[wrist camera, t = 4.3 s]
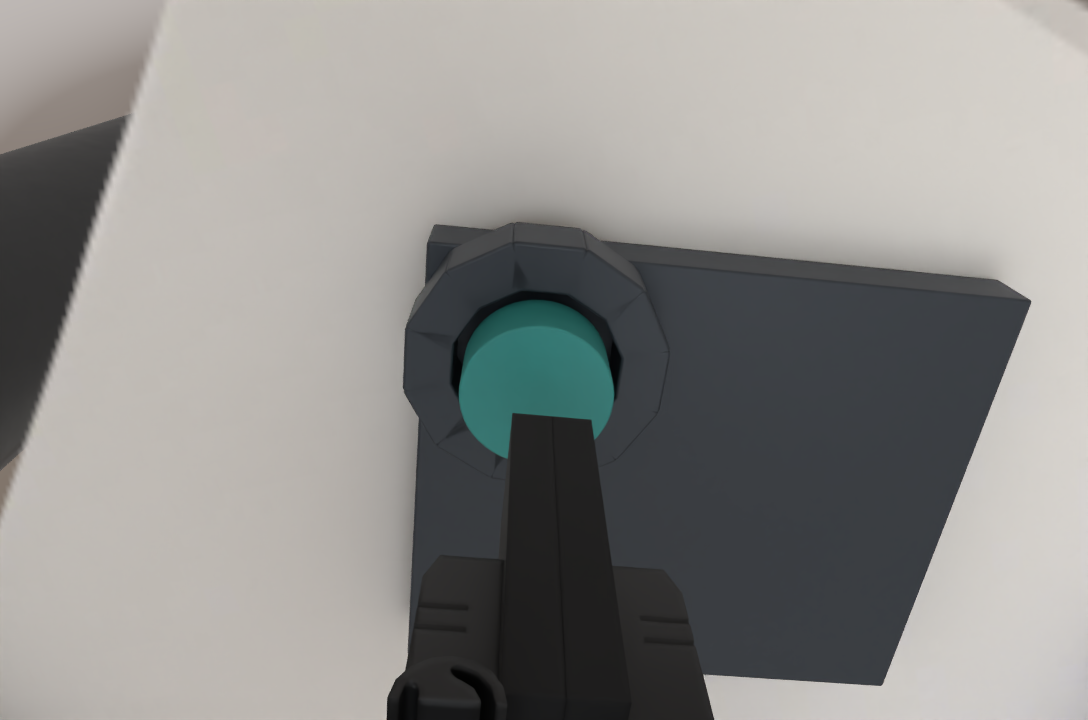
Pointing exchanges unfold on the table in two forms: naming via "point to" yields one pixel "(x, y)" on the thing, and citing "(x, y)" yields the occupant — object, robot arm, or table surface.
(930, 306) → the scale
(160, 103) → the table surface
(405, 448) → the table surface
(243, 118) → the table surface
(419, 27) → the table surface
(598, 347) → the button
